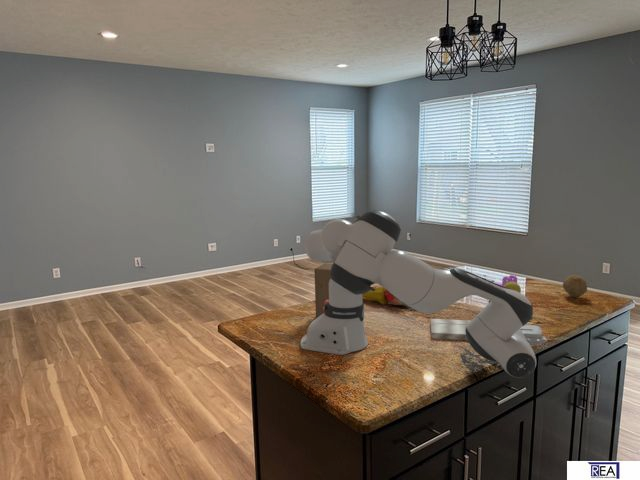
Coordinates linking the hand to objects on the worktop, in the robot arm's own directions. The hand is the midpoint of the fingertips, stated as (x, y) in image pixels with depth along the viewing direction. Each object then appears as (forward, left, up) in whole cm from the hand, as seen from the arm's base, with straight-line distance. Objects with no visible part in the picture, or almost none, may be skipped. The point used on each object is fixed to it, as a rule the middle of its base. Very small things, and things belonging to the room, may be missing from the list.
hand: (499, 323), depth 138 cm
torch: (-38, +47, -10) cm, 61 cm away
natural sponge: (+41, +64, -10) cm, 77 cm away
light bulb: (+13, +49, -10) cm, 52 cm away
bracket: (+13, +76, -10) cm, 77 cm away
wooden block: (-58, +27, -10) cm, 65 cm away
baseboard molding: (-3, +80, -11) cm, 80 cm away
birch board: (-8, +16, -10) cm, 21 cm away
